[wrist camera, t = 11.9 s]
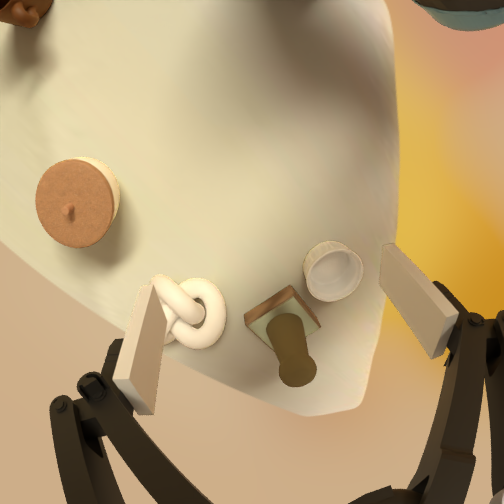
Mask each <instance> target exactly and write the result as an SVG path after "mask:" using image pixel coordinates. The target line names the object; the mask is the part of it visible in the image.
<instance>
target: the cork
mask: <svg viewBox="0 0 504 504" xmlns="http://www.w3.org/2000/svg"><path fill="white" fill-rule="evenodd" d="M266 333H267V335H268V338H269V340H270V342H271V344H272V347H273V349H274V351H275V353H276V356H277V358H278V360H279V362H280V366H279V376H280V378H281V380H282V381H283V383H284V384H286V385H288V386H290V387H301V386H304V385H306V384H308V383H310V382H311V381H312V380H313V379H314V377H315V375H316V371H317V367H316V364H315V362H314V360H313V359H312V358H311V357H310V356H309V354H308V348H307V343H306V337H305V331H304V326H303V322H302V319H301V318H300V317H299V316H298V315H295V314H292V313H284V314H280V315H278V316H275V317H274V318H273V319H271V320H270V322H269V323H268V324H267V327H266Z"/></svg>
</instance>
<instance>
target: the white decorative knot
mask: <svg viewBox="0 0 504 504" xmlns="http://www.w3.org/2000/svg"><path fill="white" fill-rule="evenodd" d="M150 284H154V287H155V290H156V292H157V295H158V298H159V300H160V303H161V306H162V308H163V311H164V313H165V316H166V319H167V321H168V322H167V327H166V333H165V339H164V345H167V344H168V343H170V342H172V341H173V340H175V339H177V340H178V341H179V342H180V343H181V344H183V345H185V346H186V347H188V348H191V349H205V348H207V347H209V346H211V345H213V344H214V343H215V342H216V341H217V340H218V339H219V337H220V336H221V334H222V332H223V330H224V328H225V324H226V316H227V312H226V305H225V301H224V298H223V296H222V294H221V292H220V291H219V290H218V288H217V287H216V286H215V285H214V284H213V283H212V282H210V281H208V280H206V279H202V278H191V279H187V280H185V281H183V282H182V283H180V284H179V285H178V284H176V283H175V282H174V281H173V280H172V279H170V278H169V277H167V276H165V275H156V276H154V277H153V278H152V279H151V281H150ZM150 284H149V285H150ZM195 298H200V299H201V300H202V301H203V302H204V305H205V308H206V317H205V321H204V323H203V325H202V326H201V327H200V328H199V329H196V328H194V327H192V326H193V325H194V324H197V323H200V322H201V321H202V320H203V319H204V315H205V311H204V308H203V306H202V305H201V304H199V303H196V302H195V301H194V300H193V299H195Z"/></svg>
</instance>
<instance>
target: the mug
mask: <svg viewBox="0 0 504 504" xmlns="http://www.w3.org/2000/svg"><path fill="white" fill-rule="evenodd" d="M52 1H53V0H0V21H1V22H5V23H9V24H13V25H17V26H24V27H26V28H32V27H34V26H35V25H37V23H38V21H39V19H40V18H41V17H42V16H43V15H44V14H45V13H46V12H47V10H48V9H49V7H50V6H51V3H52Z"/></svg>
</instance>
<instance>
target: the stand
mask: <svg viewBox="0 0 504 504" xmlns="http://www.w3.org/2000/svg"><path fill="white" fill-rule="evenodd" d="M284 313H292V314H295V315H298V316H299V317H300V318H301V319H302V322H303V326H304V331H305V337H307V336H308V335H310V334H312V333H313V332H315V331H316V330H318V329H319V328H320V327H321V326H320V324H319V321H318V319H317V317H316V316H315V315H314V313H313V312H312V311H311V310H310V309H309V307H308V306H307V305H306V304H305V302H304V301H303V300H302V299H301V297H300V296H299V295H298V294H297V292H296V291H295V290H294V289H293V287H292V286H291V285H289V286H287V287H286V288H284V289H283V290H281V291H280V292H278V293H277V294H275V295H274V296H272V297H271V298H269V299H267V300H266V301H264V302H263V303H261V304H260V305H258V306H257V307H255V308H254V309H252V310H250V311H249V312H247V313H246V314H244V318H245V325H246V326H247V327H248V328H249V329H250V330H251V331H253V332H254V333H255V334H256V335H257V336H258V337H259V338H260V339H261V340H262V341H263V342H264V343H265V344H266V345H267V346H268V347H270V348H271V349H272V350H273V351H274V349H273V347H272V344H271V342H270V340H269V338H268V335H267V333H266V327H267V324H268V323H269V322H270V320H271V319H273V318H274V317H275V316H278V315H280V314H284ZM274 352H275V351H274Z"/></svg>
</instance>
